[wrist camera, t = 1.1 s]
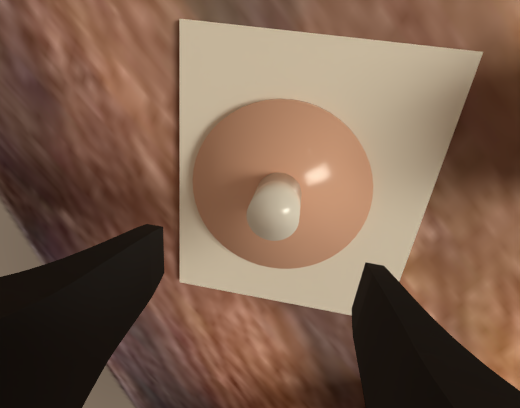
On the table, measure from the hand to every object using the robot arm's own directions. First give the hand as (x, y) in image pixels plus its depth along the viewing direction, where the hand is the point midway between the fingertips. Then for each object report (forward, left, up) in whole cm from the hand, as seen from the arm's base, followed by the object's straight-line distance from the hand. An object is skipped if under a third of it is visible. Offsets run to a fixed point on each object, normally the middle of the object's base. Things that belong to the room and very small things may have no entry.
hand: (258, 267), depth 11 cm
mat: (0, -1, -8) cm, 8 cm away
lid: (0, 0, -8) cm, 8 cm away
